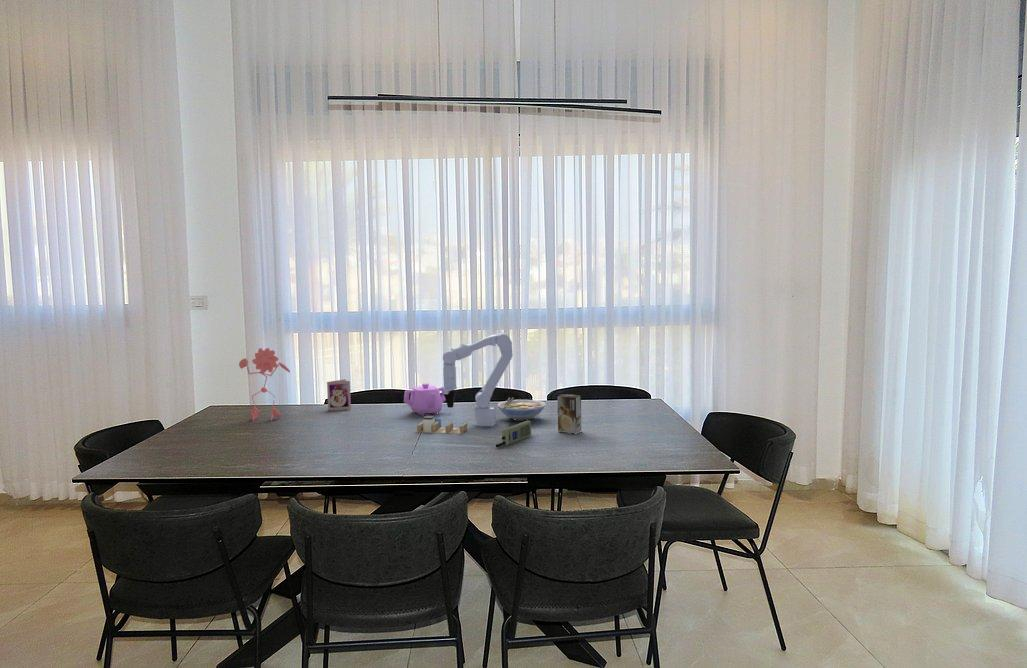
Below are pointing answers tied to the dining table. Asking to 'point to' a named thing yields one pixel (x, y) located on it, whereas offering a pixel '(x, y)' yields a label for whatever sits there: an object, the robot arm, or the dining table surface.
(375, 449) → the dining table surface
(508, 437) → the handheld radio
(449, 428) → the cable comb
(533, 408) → the ramen bowl
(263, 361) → the figurine
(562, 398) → the coffee box
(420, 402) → the teapot
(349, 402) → the greeting card
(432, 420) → the grey rectangular block
